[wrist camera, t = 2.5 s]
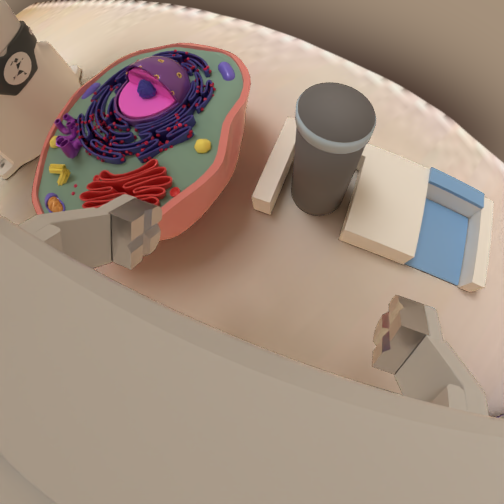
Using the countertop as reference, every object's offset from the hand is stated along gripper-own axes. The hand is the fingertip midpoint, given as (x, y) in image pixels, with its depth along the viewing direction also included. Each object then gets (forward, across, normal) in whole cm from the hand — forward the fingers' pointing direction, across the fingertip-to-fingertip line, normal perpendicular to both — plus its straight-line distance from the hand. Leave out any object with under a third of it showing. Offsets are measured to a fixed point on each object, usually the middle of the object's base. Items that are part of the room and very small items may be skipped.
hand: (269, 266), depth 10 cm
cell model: (+16, +14, +5) cm, 22 cm away
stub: (+18, 0, +3) cm, 18 cm away
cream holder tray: (+18, -6, +3) cm, 19 cm away
